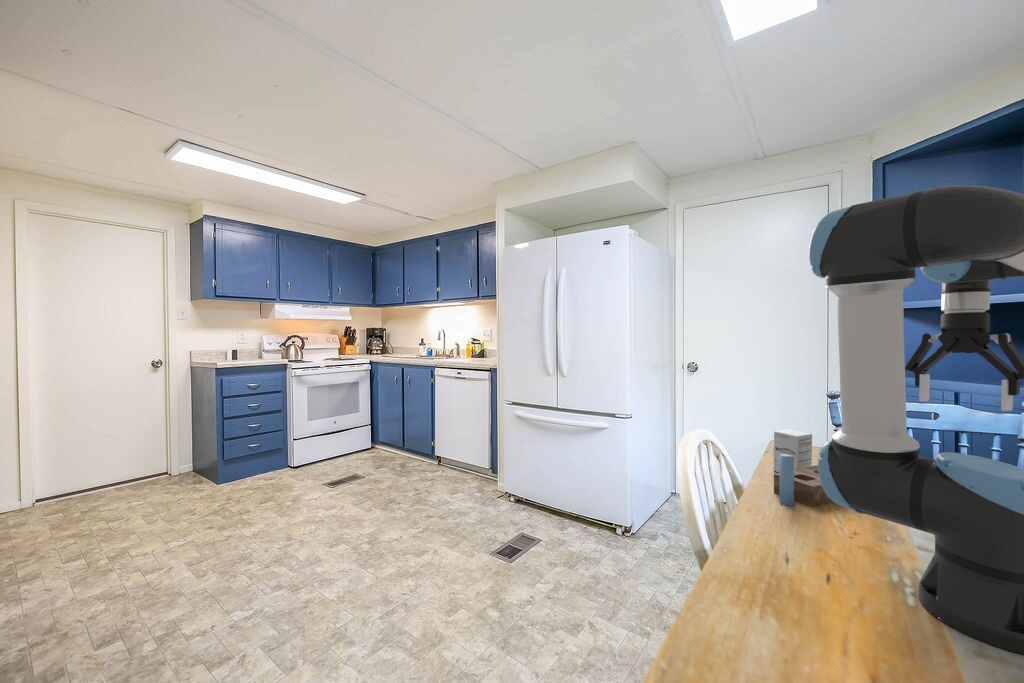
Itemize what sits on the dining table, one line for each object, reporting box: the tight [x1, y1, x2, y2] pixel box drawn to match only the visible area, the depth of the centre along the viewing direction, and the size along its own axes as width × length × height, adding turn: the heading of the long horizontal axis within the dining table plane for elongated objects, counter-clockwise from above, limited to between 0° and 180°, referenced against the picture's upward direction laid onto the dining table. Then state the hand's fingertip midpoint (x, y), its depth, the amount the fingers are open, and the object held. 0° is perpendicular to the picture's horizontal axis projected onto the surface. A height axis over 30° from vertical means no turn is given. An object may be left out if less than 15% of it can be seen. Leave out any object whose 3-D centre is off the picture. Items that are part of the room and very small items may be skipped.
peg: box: [778, 454, 795, 507], centre depth 104 cm, size 3×3×12 cm
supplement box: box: [772, 428, 813, 473], centre depth 127 cm, size 7×7×13 cm
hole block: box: [773, 465, 834, 508], centre depth 111 cm, size 18×10×5 cm, turn 113°
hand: (962, 405), depth 95 cm, fingers open, 13 cm apart
